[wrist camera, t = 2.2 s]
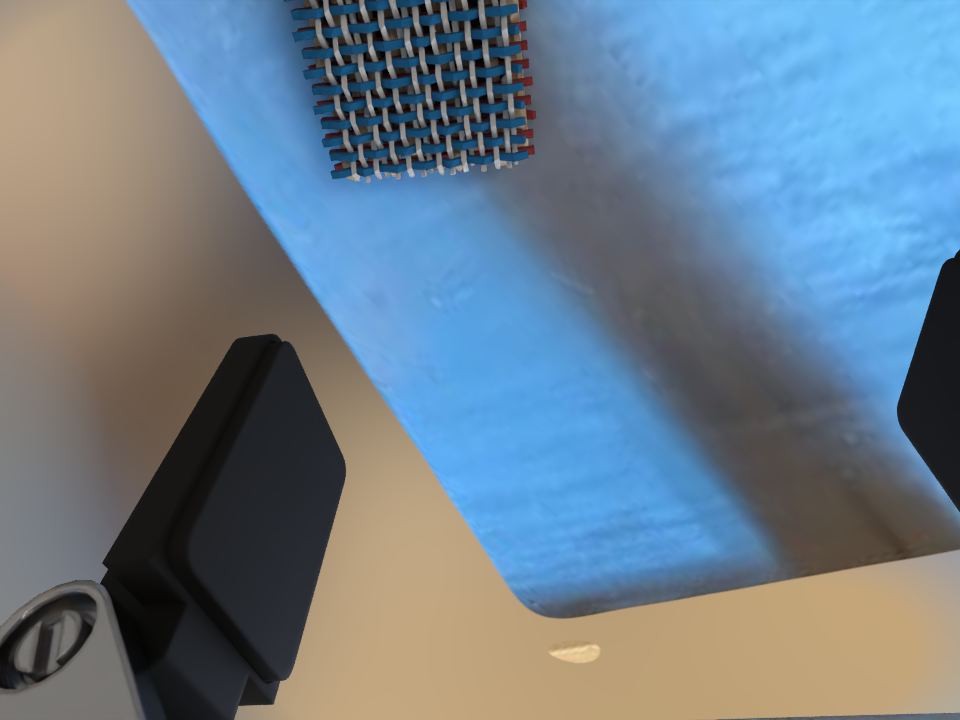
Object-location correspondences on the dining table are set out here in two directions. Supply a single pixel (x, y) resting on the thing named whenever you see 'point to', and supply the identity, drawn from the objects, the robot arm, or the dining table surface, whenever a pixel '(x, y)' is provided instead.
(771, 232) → the dining table surface
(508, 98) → the woven mat
